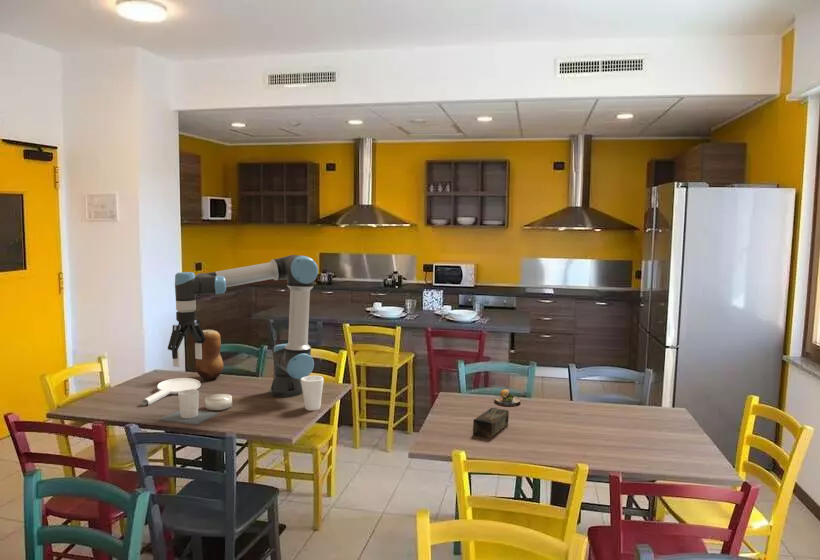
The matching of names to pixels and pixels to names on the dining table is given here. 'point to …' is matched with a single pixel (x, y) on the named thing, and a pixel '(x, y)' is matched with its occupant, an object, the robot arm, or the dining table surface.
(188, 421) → the mat
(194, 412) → the white cup
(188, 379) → the frying pan
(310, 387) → the foam cup
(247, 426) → the dining table surface
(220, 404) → the bowl
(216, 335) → the butternut squash
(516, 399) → the plate of food
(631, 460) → the dining table surface
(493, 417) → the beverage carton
